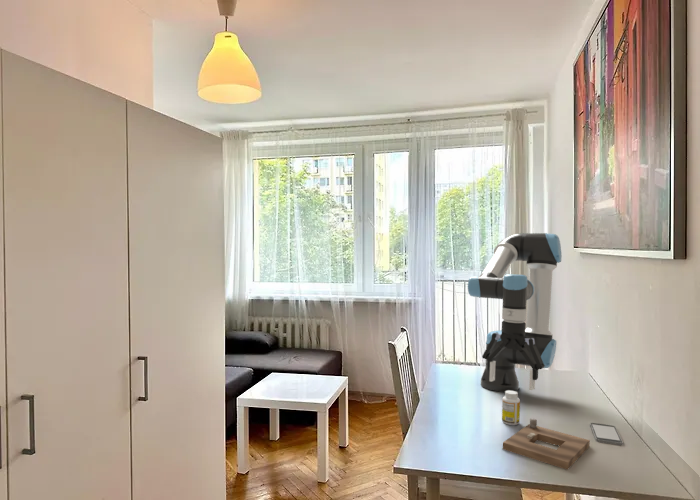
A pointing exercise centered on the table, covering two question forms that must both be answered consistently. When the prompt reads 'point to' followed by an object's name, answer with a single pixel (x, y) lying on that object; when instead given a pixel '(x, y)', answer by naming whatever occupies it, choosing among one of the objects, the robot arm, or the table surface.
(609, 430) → the smartphone
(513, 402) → the supplement bottle
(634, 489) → the table surface
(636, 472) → the table surface
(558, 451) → the wooden slotted board
